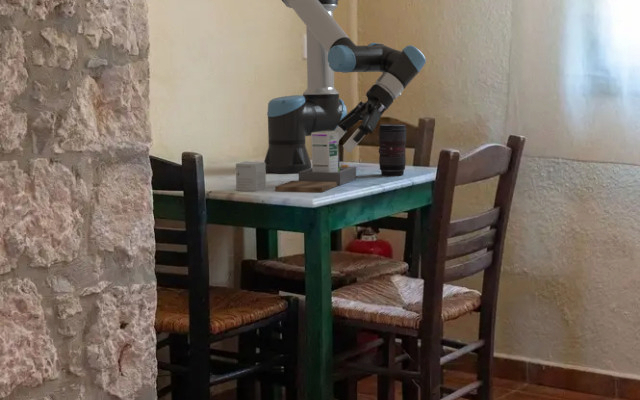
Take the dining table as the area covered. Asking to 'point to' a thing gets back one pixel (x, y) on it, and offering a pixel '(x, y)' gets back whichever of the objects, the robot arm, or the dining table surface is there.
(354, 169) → the grey frame with knob
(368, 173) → the dining table surface
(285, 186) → the walnut board
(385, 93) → the robot arm
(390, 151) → the camera lens
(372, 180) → the dining table surface
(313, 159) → the syrup box
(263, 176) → the product box
